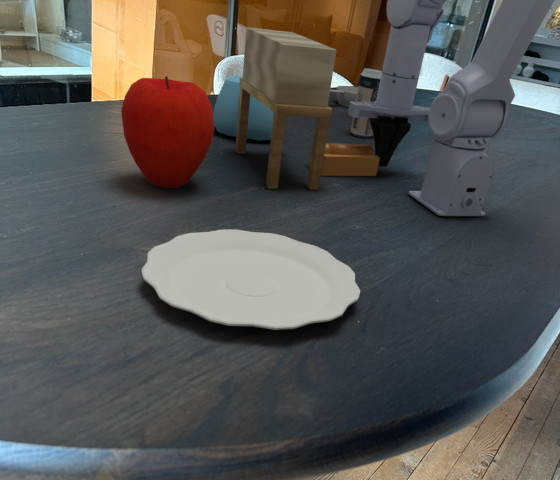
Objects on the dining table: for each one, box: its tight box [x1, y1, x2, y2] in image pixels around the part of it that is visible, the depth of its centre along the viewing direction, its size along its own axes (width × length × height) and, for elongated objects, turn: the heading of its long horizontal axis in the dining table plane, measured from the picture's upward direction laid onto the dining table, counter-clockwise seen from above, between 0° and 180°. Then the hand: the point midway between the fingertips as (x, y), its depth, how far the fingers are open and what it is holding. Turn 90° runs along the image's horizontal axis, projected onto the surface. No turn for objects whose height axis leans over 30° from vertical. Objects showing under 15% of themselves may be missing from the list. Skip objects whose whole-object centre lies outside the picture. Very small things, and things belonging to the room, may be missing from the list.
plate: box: [141, 229, 361, 331], centre depth 58 cm, size 21×21×2 cm
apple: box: [120, 75, 215, 189], centre depth 77 cm, size 12×12×13 cm
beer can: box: [350, 67, 382, 138], centre depth 117 cm, size 5×5×12 cm
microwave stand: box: [235, 26, 337, 190], centre depth 88 cm, size 19×8×18 cm, turn 18°
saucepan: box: [330, 85, 359, 108], centre depth 144 cm, size 11×18×4 cm, turn 130°
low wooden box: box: [308, 142, 380, 177], centre depth 95 cm, size 5×10×4 cm, turn 112°
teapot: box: [213, 75, 274, 142], centre depth 107 cm, size 13×11×18 cm
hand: (380, 165), depth 98 cm, fingers closed
